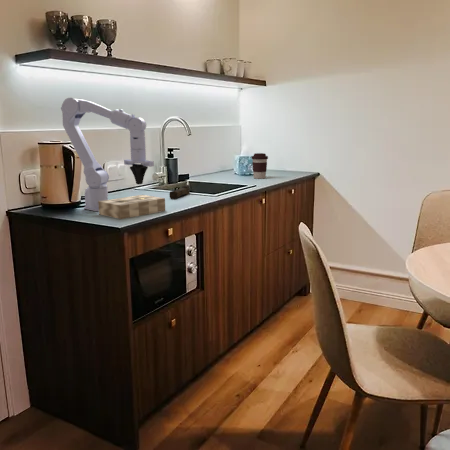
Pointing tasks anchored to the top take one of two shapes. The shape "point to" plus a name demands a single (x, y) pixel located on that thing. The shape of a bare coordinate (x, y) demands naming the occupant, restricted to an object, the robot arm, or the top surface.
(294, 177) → the top surface
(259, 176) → the coffee cup
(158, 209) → the twin-bore block
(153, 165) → the robot arm
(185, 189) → the hand tool
